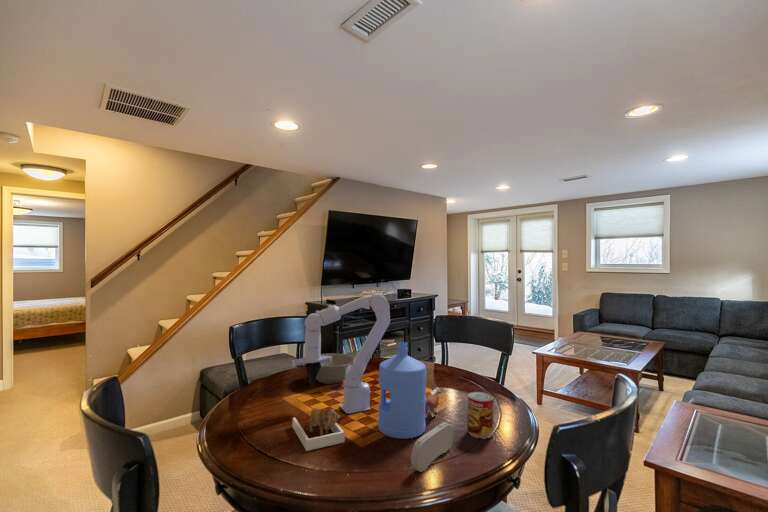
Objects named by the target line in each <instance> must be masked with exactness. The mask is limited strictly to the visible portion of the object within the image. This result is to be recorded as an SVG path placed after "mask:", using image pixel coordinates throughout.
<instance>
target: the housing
mask: <svg viewBox="0 0 768 512" xmlns="http://www.w3.org/2000/svg"><path fill="white" fill-rule="evenodd" d="M292 429H293V430H294V432H295V434H296V435H297V437H298V440H300V443H301V444H302V446H303V448H304V449H305V451H306V452H308V451H312V450H317V449H321V448H325V447H330V446H334V445H339V444H343V443H345V439H346V438H345V433H346V432H345V431H344V430H343V429H342V428H341V426H340V425H339V424H338V423H337V422H336V423H335V425H334V426H332V427H331V428H330V429H329V430H331V431H332V433H330V434H328V435H326V434H323V436H315V437H310V438H309V437H308V435H307V434H306V432H305V431H304V429H303V427H302V426H301V424H300V423H299V421H298V419H297V418H296V417H292Z"/></svg>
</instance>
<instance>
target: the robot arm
mask: <svg viewBox="0 0 768 512" xmlns="http://www.w3.org/2000/svg"><path fill="white" fill-rule="evenodd" d="M370 308H371V309H372V311H373V312H374V315H375V317H376V321H375V322H374V325H373V326H372V329H371V330H370V332H369V333H368V335H367V337H366V339H365V340H364V342H363V344H362V346H361V348H360V349H359V351H358V353H357V355H356V356H354V357H355V359H354V360H353V362H352V363H351V364H349V365H348V366H347V367H346V371H345V373H346V375H345V379H344V382H343V401H342V402H343V404H339V408H341V409H342V410H343V412H345V413H346V414H347V415H348V414H354V413H358V412H363V411H369V410H371V406H370V405H371V397H370V396H371V389H370V385H369V383H367V382H363V375H364V372H365V371H366V367H367V365H368V364H369V361H370V359H371V357H372V356H373V354H374V352H375V350H376V348H377V347H378V346H379V343H380V341H381V340H382V338H383V337H384V334H385V332H386V331H387V329H388V328H389V326H390V323H391V312H390V310H391V309H390V303H389V301H388V299H387V297H386V296H385V295H384V294H383V293H381V292H375V293H372V294H367V295H365V296H361V297H358V298H357V299H354V300H352V301H349V302H347V303H345V304H343V305H341V306H337V305H335V304H334V305H331V304H329V305H327V307H326V308H323V309H321V310H316V311H315V313H310V314H309V315H308V316H307V317H306V318H305V320H304V327H305V334H304V335H305V336H304V339H305V340H304V341H305V342H304V357H301V358H297V359H292V360H291V361H292V362H291V363H292V367H297V366H298V367H299V366H304V368H305V370H306V373H307V376H308V382H309V384H310V385H315V383H316V381H317V379H316V377H317V374H318V372H319V370H320V368H321V364H320V363H323V362H332V357H331V356H321V354H322V353H321V350H322V349H321V348H322V347H321V346H322V343H321V342H322V334H321V326H322V327H325V326H327V325H329V324H332V323H335V322H337V321H340V320H341V318H342V315H346V314H349V313H351V312H355V311H356V310H359V309H367V310H370Z"/></svg>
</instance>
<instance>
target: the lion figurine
mask: <svg viewBox="0 0 768 512" xmlns="http://www.w3.org/2000/svg"><path fill="white" fill-rule="evenodd" d="M340 416H341V415H340V414H338V413H337V412H336V409H335V408H329V409H327V410H324V411H320V408H313V409H311V412H310V419H309V421H308V422H306V423H305V425H306V426H308V425H309V433H313V432H314V429H313V427H317V426H318V427H319V435H320V436H323V435H328V434H331V433H329V430H331V429H330V428H331V427H332V426H334V425H335V423H337V422H338V421H339V419H340ZM324 430H325V431H324Z"/></svg>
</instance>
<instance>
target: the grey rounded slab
mask: <svg viewBox="0 0 768 512" xmlns="http://www.w3.org/2000/svg"><path fill="white" fill-rule="evenodd" d="M453 440H454V429H453V427H452V425H451V424H449V423H448V422H444V421H443V422H441V423H440V424H438V425H437V426H435V427H433V428H432V429H431V430H429V431H427V432H426V433H424V434H422V436H421V437H420V436H419V438H418V439H416V442H415V443H414V444H413V447H412V449H411V455H410V464H411V467H412V469H414V470H415V471H417V472H420V473H423V471H424V470H425V469H426V468H427V467H428V466H429V467H430V465H431V464H432V462H434V461H435V459H437V458H438V457H439V456H440V455H444V454H443V453H444V452H446V451H447V450H448V449H449V448H450V449H451V447H452V443H453ZM450 449H449V450H450ZM429 467H428V468H429ZM428 468H427V469H428ZM427 469H426V470H427ZM426 470H425V471H426ZM425 471H424V472H425Z"/></svg>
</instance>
